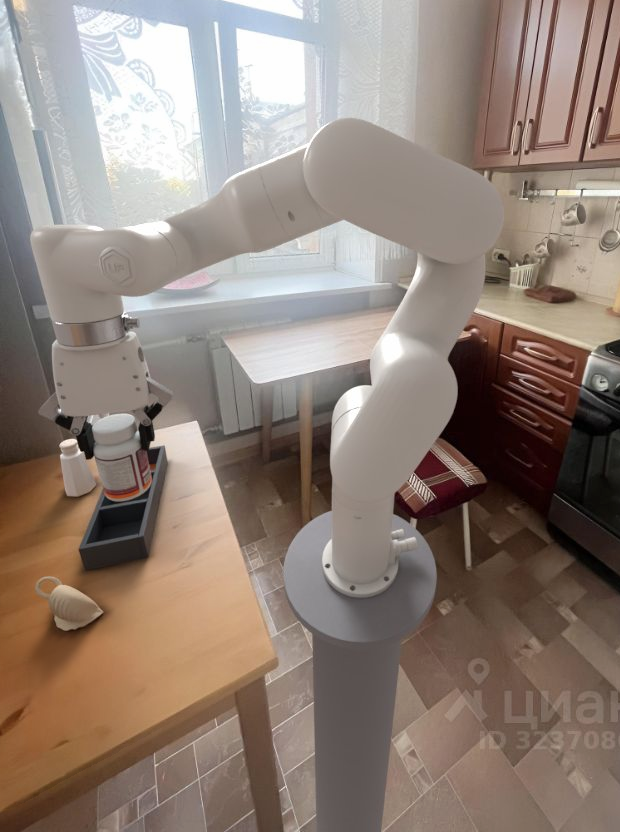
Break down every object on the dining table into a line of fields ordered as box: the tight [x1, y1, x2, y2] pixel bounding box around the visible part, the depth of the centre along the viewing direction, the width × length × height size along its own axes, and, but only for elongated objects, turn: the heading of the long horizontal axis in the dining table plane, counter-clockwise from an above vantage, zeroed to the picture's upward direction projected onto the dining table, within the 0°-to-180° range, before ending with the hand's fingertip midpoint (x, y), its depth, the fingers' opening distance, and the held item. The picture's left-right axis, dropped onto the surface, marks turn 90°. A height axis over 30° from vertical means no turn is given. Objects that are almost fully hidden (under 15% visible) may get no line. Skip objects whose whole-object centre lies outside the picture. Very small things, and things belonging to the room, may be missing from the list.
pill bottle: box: [92, 413, 152, 501], centre depth 56 cm, size 6×6×11 cm
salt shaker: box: [58, 438, 97, 498], centre depth 77 cm, size 5×5×11 cm
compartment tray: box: [77, 445, 169, 571], centre depth 74 cm, size 9×26×5 cm, turn 18°
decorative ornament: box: [35, 575, 105, 632], centre depth 55 cm, size 4×8×5 cm, turn 64°
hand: (120, 448), depth 55 cm, fingers closed on pill bottle, 6 cm apart
